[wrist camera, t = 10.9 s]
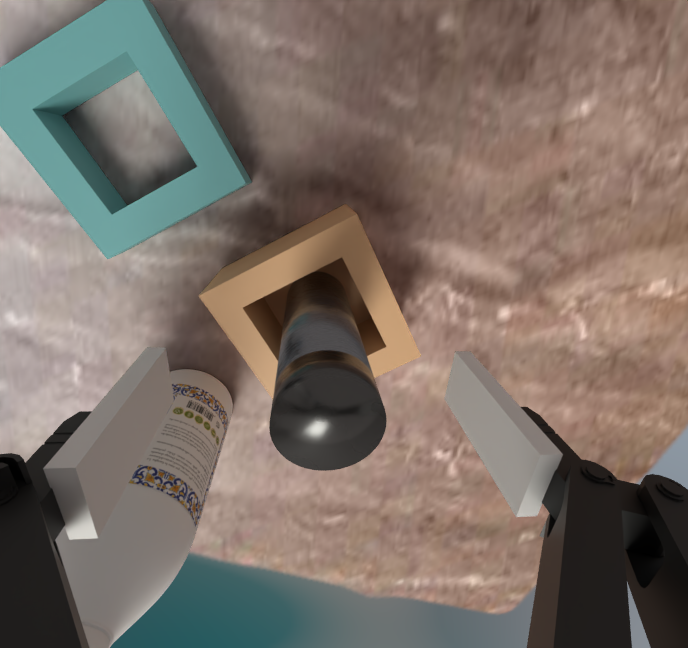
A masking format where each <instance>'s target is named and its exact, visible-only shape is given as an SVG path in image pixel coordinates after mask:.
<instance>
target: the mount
mask: <svg viewBox="0 0 688 648" xmlns="http://www.w3.org/2000/svg"><path fill="white" fill-rule="evenodd" d="M137 70H139V72H140V74H141V75H142V77H143V79H144V80H145V82H146V83H147V85H148V87H149V88H150V90H151V92H152V93H153V95H154V97H155V98H156V100H157V101H158V103H159V105H160V106H161V108H162V110H163V111H164V113H165V114H166V116H167V118H168V119H169V121H170V123H171V124H172V126H173V128H174V129H175V131H176V132H177V134H178V136H179V137H180V139H181V141H182V142H183V144H184V146H185V147H186V149H187V150H188V152H189V154H190V155H191V157H192V159H193V160H194V162H195V164H196V165H197V167H196V168H194V169H192V170H191V171H189V172H187V173H185V174H183V175H182V176H180V177H178V178H176V179H175V180H173V181H171V182H169V183H167V184H166V185H164V186H162V187H160V188H158V189H157V190H155V191H153V192H151V193H150V194H148V195H146V196H144V197H142V198H141V199H139V200H137V201H135V202H133V203H132V204H130V205H128V206H127V204H126V203H125V202H124V200H123V199H122V198H121V196H120V195H119V193H118V192H117V191H116V189H115V188H114V186H113V185H112V184H111V182H110V181H109V180H108V178H107V177H106V175H105V174H104V173H103V171H102V170H101V169H100V167H99V166H98V164H97V163H96V162H95V160H94V159H93V158H92V156H91V155H90V153H89V152H88V151H87V149H86V148H85V147H84V145H83V144H82V142H81V141H80V140H79V138H78V137H77V136H76V134H75V133H74V131H73V130H72V129H71V127H70V126H69V125H68V123H67V122H66V120H65V119H64V118H63V116H62V115H64V114H66V113H67V112H69V111H71V110H72V109H74V108H76V107H77V106H79V105H81V104H82V103H84V102H86V101H87V100H89V99H91V98H92V97H94V96H95V95H97V94H99V93H100V92H102V91H104V90H105V89H107V88H109V87H110V86H112V85H114V84H115V83H117V82H119V81H120V80H122V79H124V78H125V77H127V76H129V75H130V74H132V73H134V72H135V71H137ZM0 126H1V127H2V129H3V130H4V131H5V132H6V134H7V135H8V136H9V137H10V139H11V140H12V141H13V142H14V144H15V145H16V146H17V147H18V148H19V150H20V151H21V152H22V153H23V155H24V156H25V157H26V158H27V160H28V161H29V162H30V163H31V165H32V166H33V167H34V168H35V170H36V171H37V172H38V173H39V175H40V176H41V177H42V178H43V180H44V181H45V182H46V183H47V185H48V186H49V187H50V188H51V190H52V191H53V192H54V193H55V195H56V196H57V197H58V198H59V200H60V201H61V202H62V203H63V205H64V206H65V207H66V208H67V210H68V211H69V212H70V213H71V214H72V216H73V217H74V218H75V219H76V221H77V222H78V223H79V224H80V226H81V227H82V228H83V229H84V231H85V232H86V233H87V234H88V236H89V237H90V238H91V239H92V241H93V242H94V243H95V244H96V246H97V247H98V248H99V249H100V251H101V252H102V253H103V254H104V256H105V257H106V258H107V259H109V258H112V257H114V256H116V255H118V254H120V253H123V252H125V251H127V250H129V249H131V248H132V247H134V246H136V245H138V244H140V243H142V242H143V241H145V240H147V239H149V238H151V237H153V236H154V235H156V234H158V233H160V232H162V231H164V230H165V229H167V228H169V227H171V226H173V225H175V224H176V223H178V222H180V221H182V220H184V219H186V218H187V217H189V216H191V215H193V214H195V213H197V212H198V211H200V210H202V209H204V208H206V207H208V206H209V205H211V204H213V203H215V202H217V201H219V200H220V199H222V198H224V197H226V196H228V195H230V194H231V193H233V192H235V191H237V190H239V189H241V188H242V187H244V186H246V185H248V184H250V183H252V181H251V179H250V178H249V176H248V174H247V172H246V170H245V169H244V167H243V165H242V163H241V161H240V160H239V158H238V156H237V154H236V153H235V151H234V149H233V147H232V145H231V144H230V142H229V140H228V138H227V136H226V135H225V133H224V131H223V129H222V127H221V126H220V124H219V122H218V120H217V118H216V117H215V115H214V113H213V111H212V110H211V108H210V106H209V104H208V102H207V101H206V99H205V97H204V95H203V93H202V92H201V90H200V88H199V86H198V84H197V83H196V81H195V79H194V77H193V76H192V74H191V72H190V70H189V68H188V67H187V65H186V63H185V61H184V59H183V58H182V56H181V54H180V52H179V50H178V49H177V47H176V45H175V43H174V41H173V40H172V38H171V36H170V34H169V33H168V31H167V29H166V27H165V25H164V24H163V22H162V20H161V18H160V16H159V15H158V13H157V11H156V9H155V7H154V6H153V5H152V4H151V2H150V1H149V0H106V1H105V2H103V3H102V4H100V5H99V6H97V7H95V8H94V9H92V10H91V11H89V12H87V13H86V14H84V15H83V16H81V17H80V18H78V19H76V20H75V21H73V22H72V23H70V24H69V25H67V26H65V27H64V28H62V29H61V30H59V31H57V32H56V33H54V34H53V35H51V36H50V37H48V38H46V39H45V40H43V41H42V42H40V43H38V44H37V45H35V46H34V47H32V48H31V49H29V50H27V51H26V52H24V53H23V54H21V55H19V56H18V57H16V58H15V59H13V60H12V61H10V62H8V63H7V64H5V65H4V66H2V67H1V68H0Z"/></svg>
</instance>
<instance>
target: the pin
mask: <svg viewBox="0 0 688 648" xmlns="http://www.w3.org/2000/svg"><path fill="white" fill-rule="evenodd" d="M385 428H386V413H385V409H384V406H383V403H382V400H381V397H380V394H379V391H378V388H377V385H376V382H375V379H374V376H373V373H372V370H371V367H370V364H369V361H368V358H367V355H366V352H365V349H364V346H363V343H362V340H361V337H360V334H359V331H358V328H357V325H356V322H355V319H354V316H353V313H352V310H351V307H350V304H349V301H348V298H347V295H346V292H345V289H344V287H343V285H342V284H341V283H340V281H339V280H338V279H337V278H335V277H334V276H332V275H330V274H328V273H325V272H312V273H310V274H308V275H306V276H304V277H302V278H300V279H298V280H296V281H294V282H293V284H292V285H291V287H290V288H289V291H288V295H287V301H286V309H285V316H284V323H283V330H282V338H281V345H280V352H279V359H278V367H277V374H276V381H275V388H274V395H273V403H272V410H271V417H270V435H271V439H272V441H273V443H274V445H275V447H276V448H277V450H278V451H279V452H280V453H281V454H282V455H283V456H284V457H285V458H286V459H287V460H289V461H291V462H292V463H294V464H296V465H298V466H301V467H304V468H308V469H312V470H336V469H341V468H345V467H348V466H350V465H353V464H355V463H357V462H359V461H361V460H362V459H364V458H365V457H367V456H368V455H369V454H370V453H371V452H372V451H373V450H374V449H375V448H376V447H377V446H378V444H379V443H380V441H381V439H382V437H383V435H384V432H385Z"/></svg>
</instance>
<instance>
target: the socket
mask: <svg viewBox="0 0 688 648" xmlns="http://www.w3.org/2000/svg"><path fill="white" fill-rule="evenodd" d="M312 272H325V273H328V274H330V275H332V276H334V277H335V278H337V279H338V280H339V281H340V283H341V284H342V285H343V287H344V289H345V292H346V295H347V298H348V301H349V304H350V307H351V310H352V313H353V316H354V319H355V322H356V325H357V328H358V331H359V334H360V337H361V340H362V343H363V346H364V349H365V352H366V355H367V358H368V361H369V364H370V367H371V370H372V373H373V376H374V378H375V377H378V376H380V375H382V374H384V373H386V372H388V371H390V370H393V369H395V368H397V367H399V366H401V365H403V364H406V363H408V362H410V361H412V360H414V359H416V358H418V357H421V355H420V353H419V350H418V348H417V346H416V344H415V341H414V339H413V337H412V335H411V333H410V330H409V328H408V326H407V324H406V322H405V319H404V317H403V315H402V313H401V310H400V308H399V306H398V304H397V302H396V299H395V297H394V295H393V293H392V290H391V288H390V286H389V284H388V282H387V279H386V277H385V275H384V273H383V270H382V268H381V266H380V264H379V262H378V259H377V257H376V255H375V253H374V251H373V248H372V246H371V244H370V242H369V239H368V237H367V235H366V233H365V231H364V228H363V226H362V224H361V222H360V219H359V217H358V215H357V213H355V212H354V211H353V210H352V209H351V208H350V207H349V206H348V205H346V204H344V205H342V206H341V207H339V208H337V209H335V210H333V211H331V212H329V213H327V214H325V215H323V216H321V217H320V218H318V219H316V220H314V221H312V222H310V223H308V224H306V225H304V226H302V227H300V228H299V229H297V230H295V231H293V232H291V233H289V234H287V235H285V236H283V237H281V238H279V239H277V240H276V241H274V242H272V243H270V244H268V245H266V246H264V247H262V248H260V249H258V250H256V251H255V252H253V253H251V254H249V255H247V256H245V257H243V258H241V259H239V260H237V261H235V262H233V263H232V264H230V265H228V266H226V267H224V268H222V269H221V270H220V271H219V273H218V274H217V275H216V276H215V277H214V278H213V280H212V281H211V282H210V283H209V284H208V285H207V287H206V288H205V289H204V290H203V291H202V292H201V294H200V295H199V297H200V299H201V300H202V301H203V303H204V304H205V306H206V307H207V308H208V310H209V311H210V313H211V314H212V315H213V317H214V318H215V319H216V321H217V322H218V324H219V325H220V326H221V328H222V329H223V331H224V332H225V333H226V335H227V336H228V338H229V339H230V340H231V342H232V343H233V345H234V346H235V347H236V349H237V350H238V351H239V353H240V354H241V356H242V357H243V358H244V360H245V361H246V363H247V364H248V365H249V367H250V368H251V370H252V371H253V372H254V374H255V375H256V377H257V378H258V379H259V381H260V382H261V383H262V385H263V386H264V388H265V389H266V390H267V392H268V393H269V395H270V396H271V397H272V399H273V395H274V388H275V381H276V374H277V367H278V359H279V352H280V345H281V338H282V330H283V323H284V316H285V309H286V301H287V295H288V291H289V288H290V287H291V285H292V284H293V282H294V281H296V280H298V279H300V278H302V277H304V276H306V275H308V274H310V273H312Z"/></svg>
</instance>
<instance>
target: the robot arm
mask: <svg viewBox="0 0 688 648" xmlns="http://www.w3.org/2000/svg"><path fill="white" fill-rule="evenodd" d="M173 401H174V397H173V391H172V384H171V377H170V371H169V364H168V357H167V351H166V348H157V347H147V348H146V349H145V350H144V352H143V353H142V354H141V355H140V356H139V357H138V359H137V360H136V361H135V362H134V363H133V364H132V366H131V367H130V368H129V369H128V370H127V371H126V373H125V374H124V375H123V376H122V377H121V378H120V380H119V381H118V382H117V383H116V384H115V385H114V387H113V388H112V389H111V390H110V391H109V392H108V394H107V395H106V396H105V397H104V398H103V399H102V401H101V402H100V403H99V404H98V405H97V406H96V408H95V409H94V410H93V411H92V412H78V413H77V414H75V415H74V416H72V417H70V418H69V419H67V420H66V421H64V422H63V423H62V424H61V425H60V426H59V427H58V429H57V430H56V431H55V432H54V434H53V435H51V436H50V437H49V438H48V439H47V440H46V441H45V444H44V445H42V446H41V447H40V448H39V449H38V450H37V451H36V452H35V453H34V454H33V455H32V456H31V457H30V459H29V460H28V461H27V462H26V463H25V462H24V459H23V458H22V457H21V456H20V455H17V454H12V453H10V454H0V648H89V645H88V641H87V638H86V635H85V632H84V629H83V625H82V622H81V619H80V616H79V613H78V609H77V606H76V603H75V600H74V597H73V593H72V590H71V587H70V584H69V581H68V577H67V574H66V571H65V568H64V565H63V561H62V558H61V555H60V552H59V549H58V546H57V543H56V541H55V540H56V538H57V537H58V535H59V534H60V532H61V531H62V529H63V527H64V526H65V529H66V532H67V535H68V537H69V540H73V539H93V538H98V537H99V536H100V534H101V532H102V530H103V528H104V526H105V525H106V523H107V521H108V519H109V517H110V516H111V514H112V512H113V510H114V508H115V506H116V505H117V503H118V501H119V499H120V497H121V496H122V494H123V492H124V490H125V488H126V486H127V485H128V483H129V481H130V479H131V477H132V476H133V474H134V472H135V470H136V468H137V466H138V465H139V463H140V461H141V459H142V457H143V456H144V454H145V452H146V450H147V448H148V446H149V445H150V443H151V441H152V439H153V437H154V436H155V434H156V432H157V430H158V428H159V427H160V425H161V423H162V421H163V419H164V417H165V416H166V414H167V412H168V410H169V408H170V407H171V405H172V403H173ZM445 401H446V402H447V404H448V405H449V407H450V409H451V410H452V412H453V414H454V415H455V417H456V419H457V420H458V422H459V424H460V425H461V427H462V429H463V430H464V432H465V433H466V435H467V437H468V438H469V440H470V442H471V443H472V445H473V447H474V448H475V450H476V452H477V453H478V455H479V457H480V458H481V460H482V461H483V463H484V465H485V466H486V468H487V470H488V471H489V473H490V475H491V476H492V478H493V480H494V481H495V483H496V485H497V486H498V488H499V490H500V491H501V493H502V494H503V496H504V498H505V499H506V501H507V503H508V504H509V506H510V508H511V509H512V511H513V513H514V514H515V516H516V517H525V516H537V515H538V512H539V510H540V508H541V505H542V503H543V504H544V506H545V507H546V508H547V510H548V511H549V513H550V514H549V516H548V518H547V520H546V523H545V525H544V527H543V529H542V532H541V534H540V536H541V537H544V540H543V546H542V553H541V559H540V566H539V572H538V579H537V585H536V592H535V599H534V604H533V611H532V617H531V624H530V631H529V638H528V644H527V648H632V644H631V631H630V617H629V604H628V591H627V582H628V585H629V588H630V590H631V593H632V596H633V599H634V601H635V604H636V607H637V610H638V613H639V616H640V618H641V621H642V624H643V627H644V629H645V633H646V635H647V638H648V641H649V644H650V646H651V648H688V490H687V489H686V488H685V487H683V486H682V485H681V484H679V483H677V482H675V481H674V480H671V479H669V478H666V477H663V476H660V475H654V474H651V475H646V476H645V477H644V479H643V481H642V482H641V484H640V485H638V484H634V483H629V482H625V481H620V480H617V479H616V477H615V476H614V475H613V474H612V473H611V472H610V471H608V470H607V469H606V468H604V467H602V466H600V465H598V464H597V463H594V462H591V461H588V460H581V459H580V458H579V456H578V455H577V454H576V453H575V452H574V451H573V450H572V449H571V448H570V447H569V446H568V445H567V444H566V443H565V442H564V441H563V440H562V439H561V437H560V436H559V435H558V434H555V431H554V430H553V429H552V428H551V427H550V426H548V424H547V423H546V422H545V421H544V420H543V418H542V417H541V416H540V415H538V414H537V413H535V412H534V411H532V410H531V409H529V408H528V407H520V406H519V405H518V404H517V403H516V402H515V400H514V399H513V398H512V397H511V396H510V395H509V394H508V393H507V392H506V390H505V389H504V388H503V387H502V386H501V385H500V384H499V383H498V382H497V380H496V379H495V378H494V377H493V376H492V375H491V374H490V373H489V372H488V371H487V369H486V368H485V367H484V366H483V365H482V364H481V363H480V362H479V361H478V359H477V358H476V357H475V356H474V355H473V354H472V353H471V352H468V351H455V355H454V359H453V364H452V368H451V372H450V377H449V381H448V386H447V390H446V394H445Z"/></svg>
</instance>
